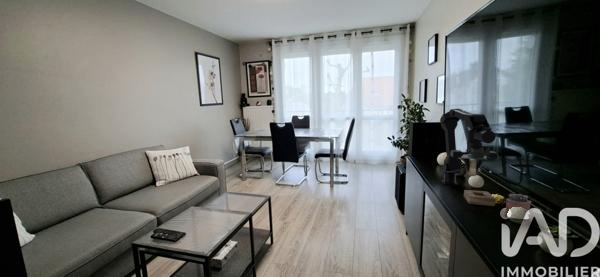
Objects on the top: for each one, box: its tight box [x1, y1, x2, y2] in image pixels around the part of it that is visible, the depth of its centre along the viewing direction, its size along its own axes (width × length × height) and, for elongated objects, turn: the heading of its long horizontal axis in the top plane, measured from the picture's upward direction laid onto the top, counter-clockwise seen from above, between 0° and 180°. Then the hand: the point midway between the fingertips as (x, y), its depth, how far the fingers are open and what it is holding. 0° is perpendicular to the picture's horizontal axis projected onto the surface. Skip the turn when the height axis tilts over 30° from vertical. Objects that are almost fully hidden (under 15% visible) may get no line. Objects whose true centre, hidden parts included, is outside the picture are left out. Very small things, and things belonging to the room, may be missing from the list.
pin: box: [467, 158, 477, 177], centre depth 124 cm, size 3×3×8 cm
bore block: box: [463, 189, 496, 207], centre depth 121 cm, size 9×10×4 cm
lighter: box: [504, 193, 532, 218], centre depth 104 cm, size 8×3×10 cm, turn 71°
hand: (472, 171), depth 125 cm, fingers closed on pin, 3 cm apart
